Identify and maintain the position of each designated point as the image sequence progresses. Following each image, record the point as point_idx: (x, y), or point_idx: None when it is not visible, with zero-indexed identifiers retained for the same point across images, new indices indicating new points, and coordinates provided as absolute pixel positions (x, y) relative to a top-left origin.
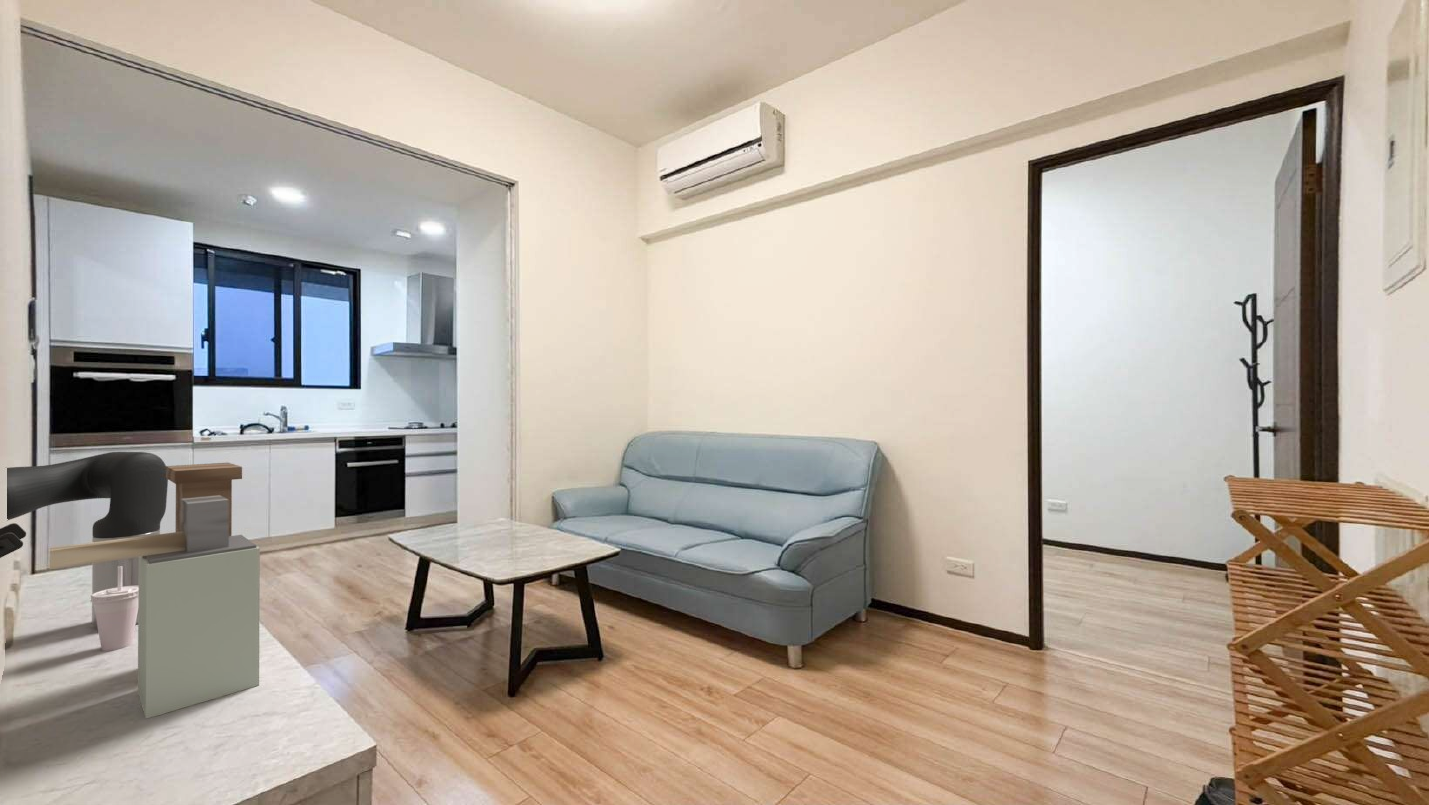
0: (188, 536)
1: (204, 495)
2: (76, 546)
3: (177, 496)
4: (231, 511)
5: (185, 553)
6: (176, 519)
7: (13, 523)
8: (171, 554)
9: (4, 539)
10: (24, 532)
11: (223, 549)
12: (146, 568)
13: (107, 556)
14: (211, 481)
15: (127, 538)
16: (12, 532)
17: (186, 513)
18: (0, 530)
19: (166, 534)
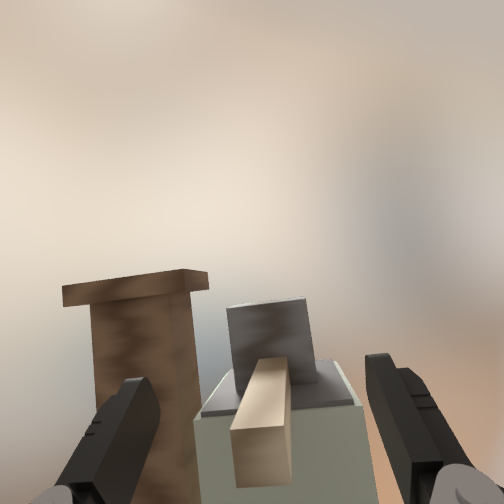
0: (313, 354)
1: (181, 316)
2: (269, 405)
3: (113, 331)
4: (194, 341)
5: (323, 383)
6: (105, 375)
7: (131, 378)
8: (314, 390)
9: (413, 372)
10: (157, 403)
11: (332, 368)
12: (359, 413)
13: (289, 417)
14: (182, 294)
15: (254, 379)
16: (147, 408)
17: (294, 318)
18: (131, 407)
19: (268, 363)
